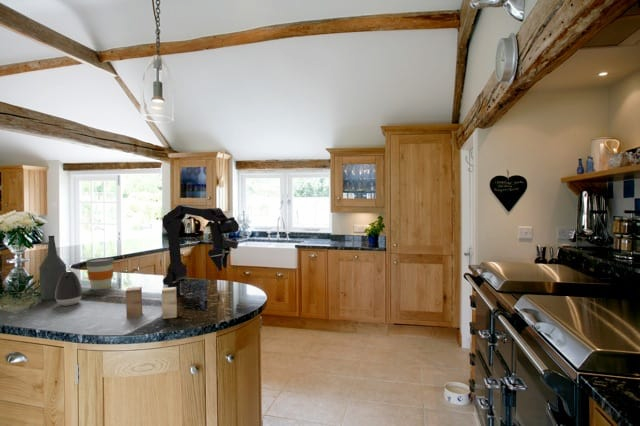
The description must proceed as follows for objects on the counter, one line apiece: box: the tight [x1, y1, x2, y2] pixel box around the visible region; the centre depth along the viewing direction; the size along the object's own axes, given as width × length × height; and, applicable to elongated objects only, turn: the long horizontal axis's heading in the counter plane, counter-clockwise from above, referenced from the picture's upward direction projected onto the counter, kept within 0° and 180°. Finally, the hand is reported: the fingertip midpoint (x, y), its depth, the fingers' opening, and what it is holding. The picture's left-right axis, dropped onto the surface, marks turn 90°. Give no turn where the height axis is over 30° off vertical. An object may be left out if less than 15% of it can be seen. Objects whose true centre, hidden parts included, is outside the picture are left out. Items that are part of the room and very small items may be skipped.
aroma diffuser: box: [54, 270, 84, 307], centre depth 161 cm, size 10×10×15 cm
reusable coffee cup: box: [85, 257, 115, 290], centre depth 190 cm, size 13×13×15 cm
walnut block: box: [125, 286, 143, 319], centre depth 145 cm, size 5×5×11 cm
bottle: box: [38, 235, 67, 301], centre depth 172 cm, size 10×10×30 cm
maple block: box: [161, 287, 178, 320], centre depth 144 cm, size 5×5×11 cm
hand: (223, 269), depth 161 cm, fingers open, 9 cm apart
